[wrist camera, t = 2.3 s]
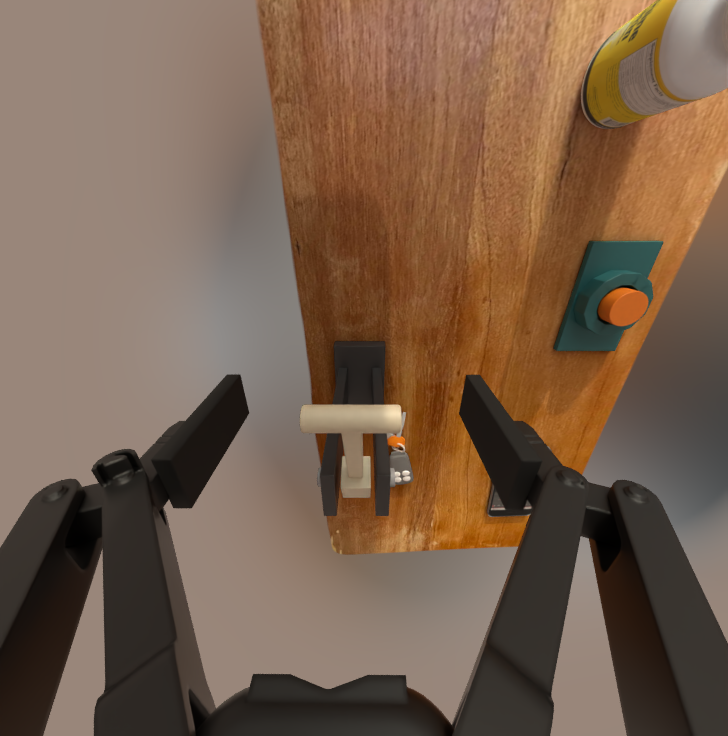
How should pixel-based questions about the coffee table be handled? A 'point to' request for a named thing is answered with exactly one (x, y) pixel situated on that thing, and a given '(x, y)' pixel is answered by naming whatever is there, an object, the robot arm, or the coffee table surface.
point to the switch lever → (352, 437)
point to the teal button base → (604, 292)
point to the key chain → (400, 458)
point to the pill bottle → (658, 62)
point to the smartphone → (498, 509)
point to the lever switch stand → (357, 387)
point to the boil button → (622, 306)
